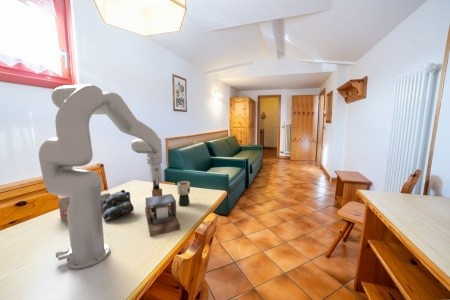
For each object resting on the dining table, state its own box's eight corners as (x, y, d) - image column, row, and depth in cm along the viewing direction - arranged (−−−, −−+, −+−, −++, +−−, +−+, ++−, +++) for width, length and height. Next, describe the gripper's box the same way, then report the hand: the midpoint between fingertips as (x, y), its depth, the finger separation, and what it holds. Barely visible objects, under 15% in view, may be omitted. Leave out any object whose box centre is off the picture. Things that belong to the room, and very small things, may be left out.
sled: (153, 224, 86) (152, 204, 85) (149, 207, 104) (148, 190, 103) (173, 220, 90) (172, 201, 89) (165, 204, 108) (165, 187, 107)
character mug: (190, 207, 110) (189, 185, 108) (177, 208, 109) (176, 186, 107) (190, 200, 121) (189, 179, 119) (178, 201, 120) (177, 180, 118)
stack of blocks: (108, 205, 113) (106, 185, 112) (111, 209, 109) (109, 187, 107) (60, 218, 98) (57, 194, 97) (61, 222, 94) (58, 198, 92)
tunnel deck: (150, 236, 82) (148, 212, 80) (145, 211, 105) (144, 192, 104) (180, 229, 87) (179, 206, 86) (169, 207, 111) (168, 188, 109)
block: (157, 221, 89) (156, 209, 89) (155, 217, 94) (155, 205, 93) (168, 219, 92) (167, 207, 91) (166, 215, 96) (166, 203, 95)
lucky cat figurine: (97, 223, 92) (93, 195, 96) (111, 221, 104) (106, 196, 108) (129, 213, 94) (123, 185, 97) (139, 212, 106) (134, 187, 109)
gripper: (164, 162, 100) (165, 196, 102) (159, 157, 113) (161, 188, 116) (148, 163, 97) (150, 199, 99) (146, 158, 110) (147, 190, 112)
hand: (156, 193), depth 107 cm, fingers closed
